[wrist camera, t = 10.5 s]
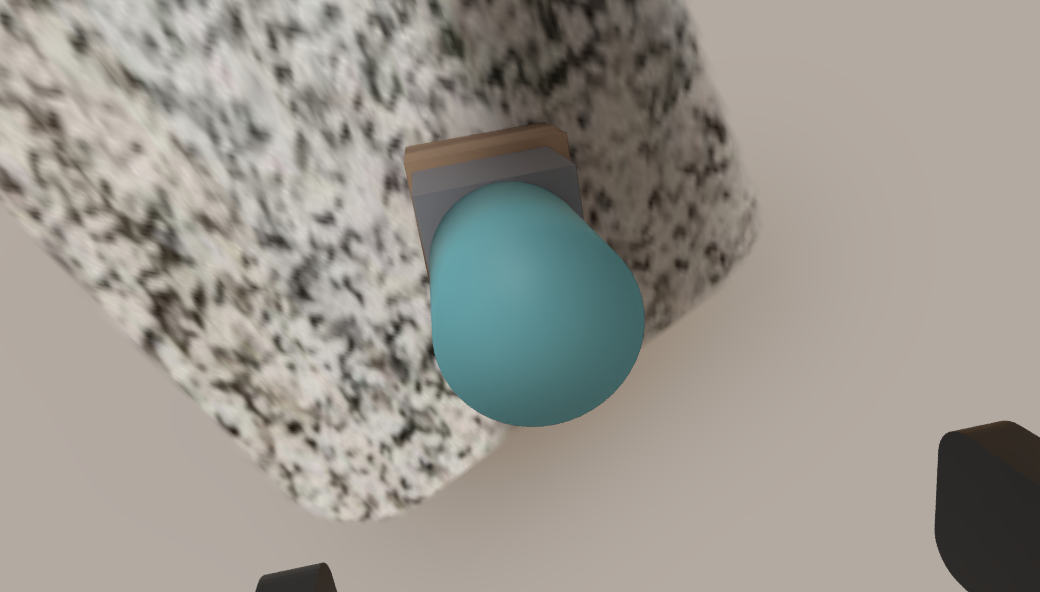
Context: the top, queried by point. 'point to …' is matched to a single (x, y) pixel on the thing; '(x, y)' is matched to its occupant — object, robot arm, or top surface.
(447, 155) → the walnut base block
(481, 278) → the teal cylinder
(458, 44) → the top surface
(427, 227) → the charcoal top block
